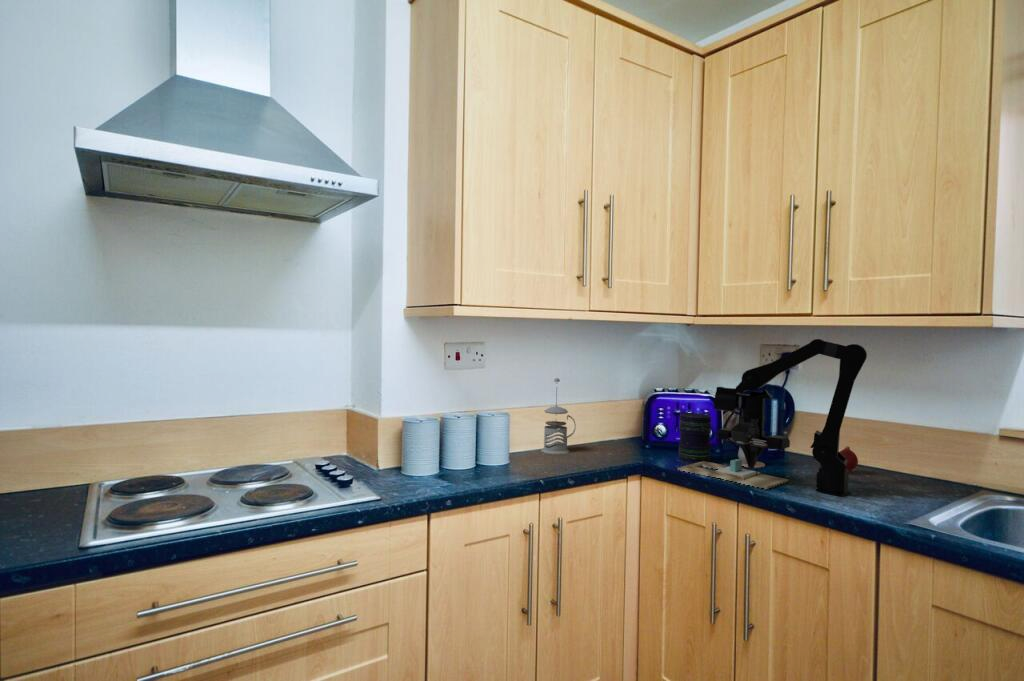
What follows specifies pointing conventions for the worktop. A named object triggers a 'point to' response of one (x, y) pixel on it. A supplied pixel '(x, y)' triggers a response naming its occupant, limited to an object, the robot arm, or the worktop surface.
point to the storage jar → (694, 437)
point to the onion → (850, 458)
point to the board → (755, 480)
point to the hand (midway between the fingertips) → (751, 468)
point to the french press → (556, 431)
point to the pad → (757, 465)
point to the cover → (737, 469)
